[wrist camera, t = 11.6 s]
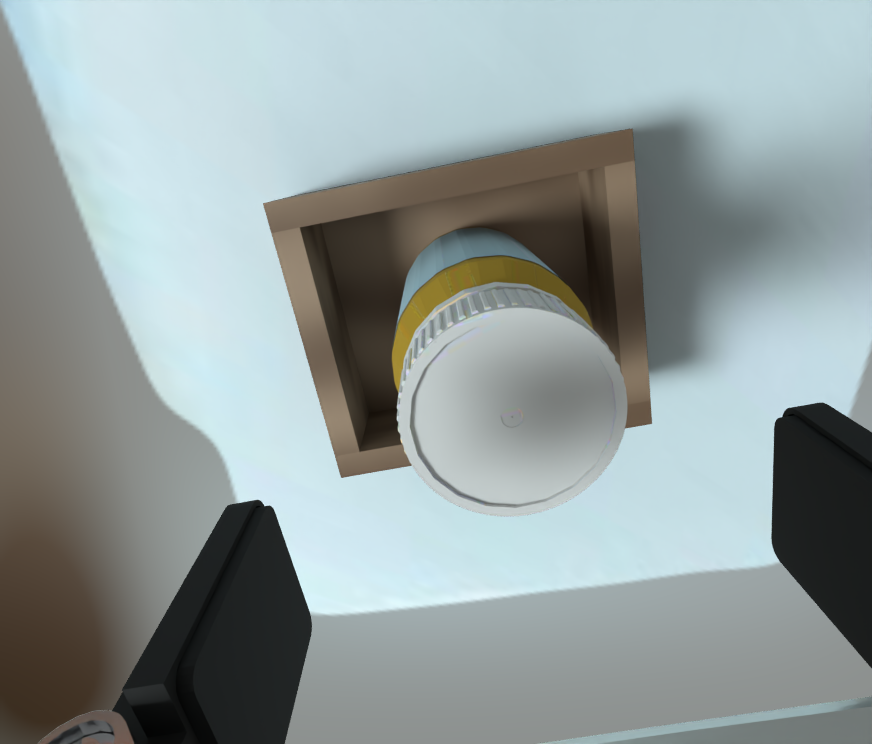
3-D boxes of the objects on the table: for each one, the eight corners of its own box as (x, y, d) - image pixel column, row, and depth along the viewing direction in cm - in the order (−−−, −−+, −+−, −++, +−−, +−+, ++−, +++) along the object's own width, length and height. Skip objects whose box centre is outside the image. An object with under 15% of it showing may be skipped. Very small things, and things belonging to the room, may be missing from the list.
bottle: (558, 243, 28) (686, 323, 14) (519, 372, 31) (595, 550, 17) (421, 209, 28) (412, 259, 14) (391, 344, 30) (358, 504, 16)
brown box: (293, 195, 28) (263, 203, 23) (594, 134, 28) (632, 128, 22) (355, 428, 33) (341, 477, 28) (615, 381, 32) (651, 423, 27)
